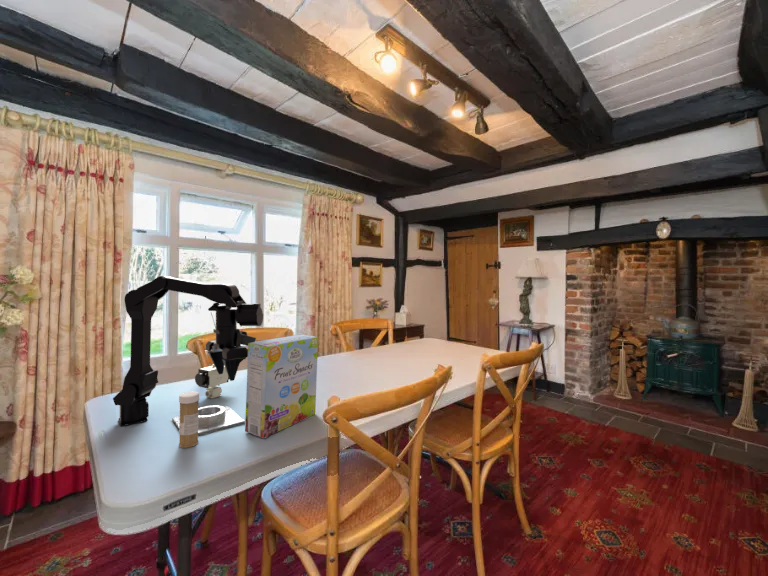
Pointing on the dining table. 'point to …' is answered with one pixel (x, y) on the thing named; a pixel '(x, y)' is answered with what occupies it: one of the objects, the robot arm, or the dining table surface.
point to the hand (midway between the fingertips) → (226, 377)
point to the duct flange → (214, 419)
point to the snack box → (280, 383)
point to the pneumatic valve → (211, 380)
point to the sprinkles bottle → (188, 419)
